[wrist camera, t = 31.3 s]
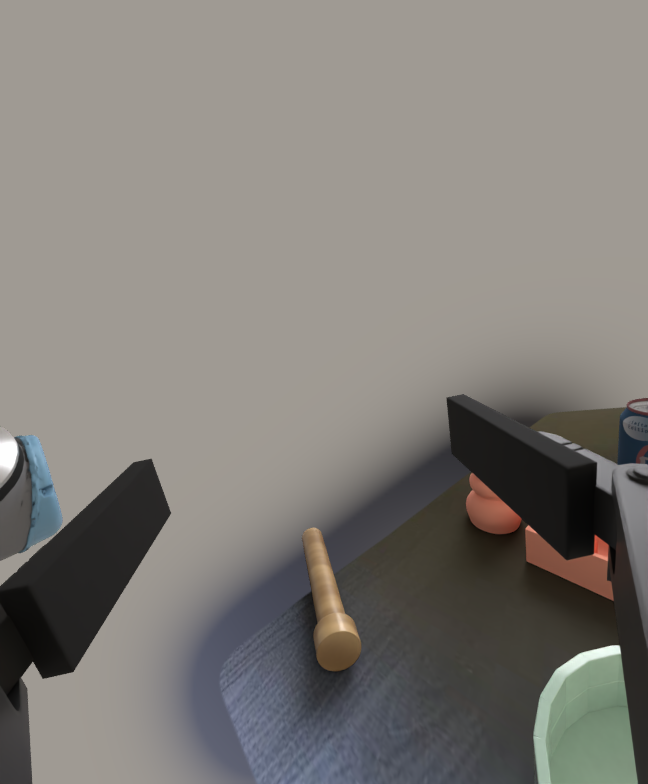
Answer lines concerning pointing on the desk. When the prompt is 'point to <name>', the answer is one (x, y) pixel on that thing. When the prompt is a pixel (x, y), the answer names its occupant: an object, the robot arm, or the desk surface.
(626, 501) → the robot arm
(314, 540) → the pestle
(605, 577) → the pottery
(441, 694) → the desk surface
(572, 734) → the bowl
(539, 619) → the desk surface
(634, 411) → the soda can
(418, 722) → the desk surface
